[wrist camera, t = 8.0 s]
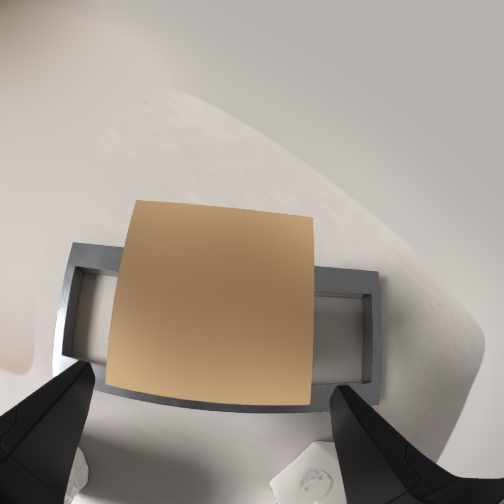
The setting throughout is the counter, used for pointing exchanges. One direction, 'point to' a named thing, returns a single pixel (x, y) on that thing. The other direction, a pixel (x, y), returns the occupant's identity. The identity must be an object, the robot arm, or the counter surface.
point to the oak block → (214, 305)
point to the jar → (311, 478)
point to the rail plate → (325, 284)
